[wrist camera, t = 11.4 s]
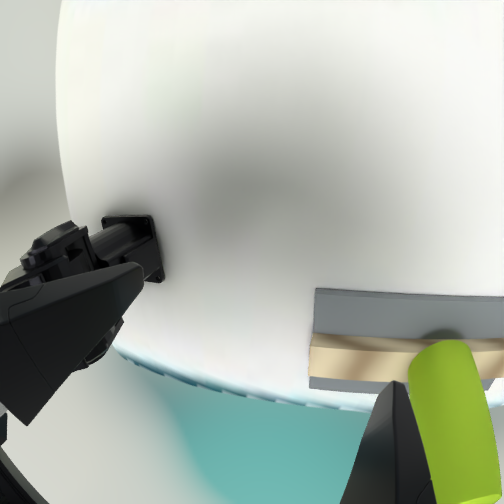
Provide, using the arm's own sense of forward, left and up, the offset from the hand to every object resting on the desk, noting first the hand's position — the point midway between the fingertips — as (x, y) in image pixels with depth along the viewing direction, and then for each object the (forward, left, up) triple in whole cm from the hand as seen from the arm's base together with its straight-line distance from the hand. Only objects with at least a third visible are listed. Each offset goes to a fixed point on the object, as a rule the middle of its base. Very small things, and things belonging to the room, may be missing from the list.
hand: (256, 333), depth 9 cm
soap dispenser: (+12, -11, -11) cm, 20 cm away
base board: (+10, -11, -13) cm, 20 cm away
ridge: (+10, -11, -13) cm, 20 cm away
